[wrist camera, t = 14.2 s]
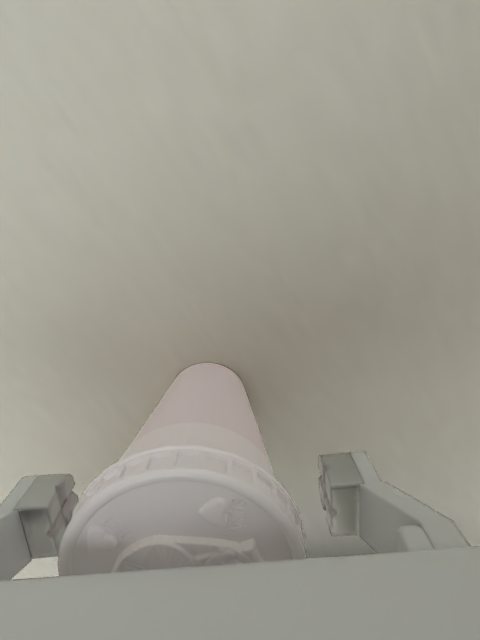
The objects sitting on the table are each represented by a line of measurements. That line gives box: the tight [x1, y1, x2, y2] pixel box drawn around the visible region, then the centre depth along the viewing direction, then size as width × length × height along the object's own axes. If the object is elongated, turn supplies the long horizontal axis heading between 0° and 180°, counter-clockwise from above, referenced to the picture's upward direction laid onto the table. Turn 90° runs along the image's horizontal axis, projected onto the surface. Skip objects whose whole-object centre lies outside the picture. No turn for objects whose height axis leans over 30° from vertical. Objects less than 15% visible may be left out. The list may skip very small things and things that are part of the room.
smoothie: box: [58, 363, 307, 576], centre depth 13 cm, size 6×6×14 cm
